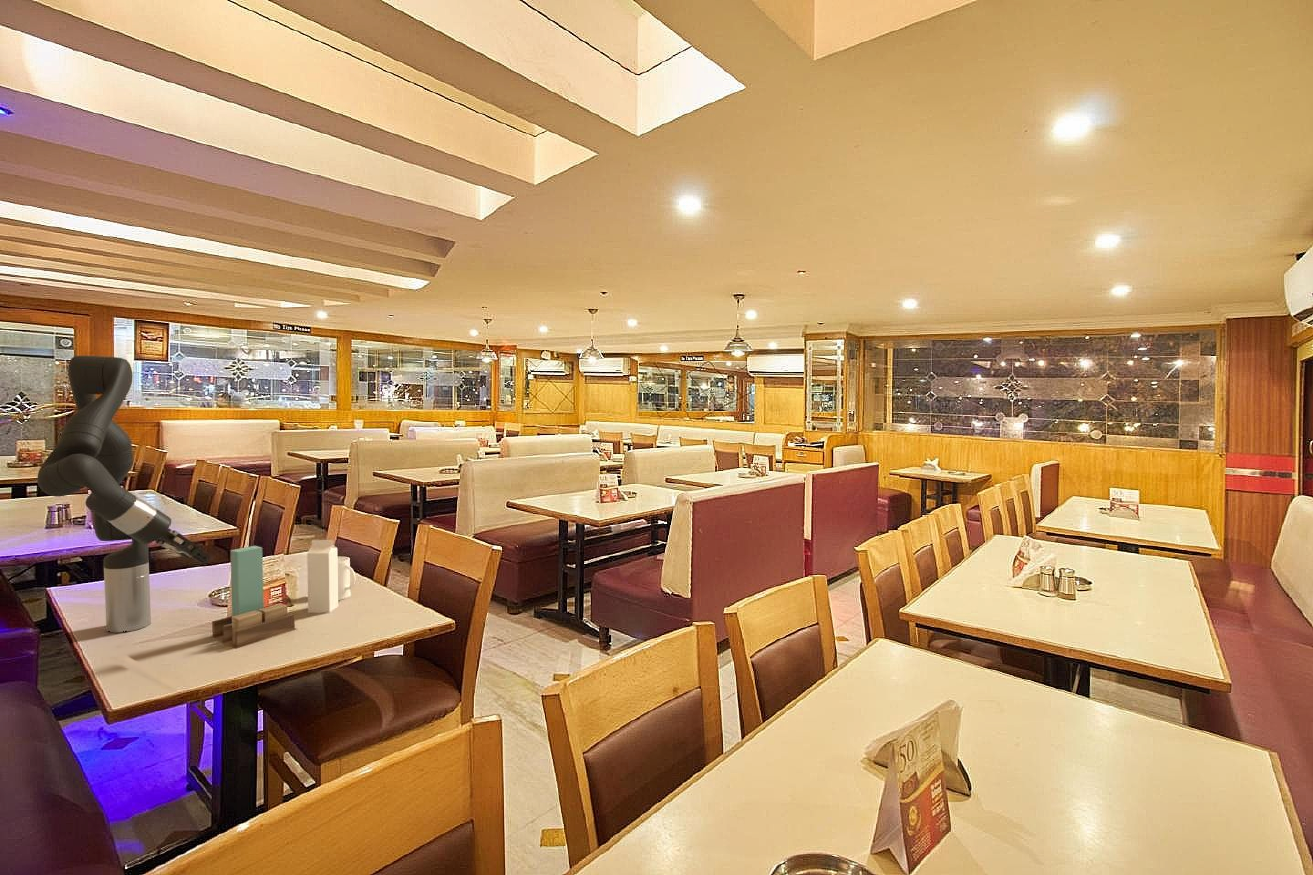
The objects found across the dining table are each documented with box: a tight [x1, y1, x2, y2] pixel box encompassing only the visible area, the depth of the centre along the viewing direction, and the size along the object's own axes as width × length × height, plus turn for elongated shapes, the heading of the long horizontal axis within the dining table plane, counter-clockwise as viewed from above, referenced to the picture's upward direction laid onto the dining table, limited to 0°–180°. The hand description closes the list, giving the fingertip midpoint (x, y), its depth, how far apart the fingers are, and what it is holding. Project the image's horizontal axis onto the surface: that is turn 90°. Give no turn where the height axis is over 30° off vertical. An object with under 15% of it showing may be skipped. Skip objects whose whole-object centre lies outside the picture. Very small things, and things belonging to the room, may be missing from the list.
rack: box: [210, 605, 298, 650], centre depth 161 cm, size 13×15×6 cm
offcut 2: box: [259, 603, 288, 623], centre depth 162 cm, size 3×6×6 cm, turn 150°
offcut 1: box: [232, 610, 262, 643], centre depth 156 cm, size 3×6×6 cm, turn 150°
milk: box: [306, 539, 339, 614], centre depth 179 cm, size 6×6×22 cm
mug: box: [338, 556, 357, 602], centre depth 193 cm, size 12×8×12 cm
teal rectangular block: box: [229, 545, 265, 617], centre depth 161 cm, size 4×6×22 cm, turn 150°
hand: (198, 557), depth 151 cm, fingers open, 8 cm apart
